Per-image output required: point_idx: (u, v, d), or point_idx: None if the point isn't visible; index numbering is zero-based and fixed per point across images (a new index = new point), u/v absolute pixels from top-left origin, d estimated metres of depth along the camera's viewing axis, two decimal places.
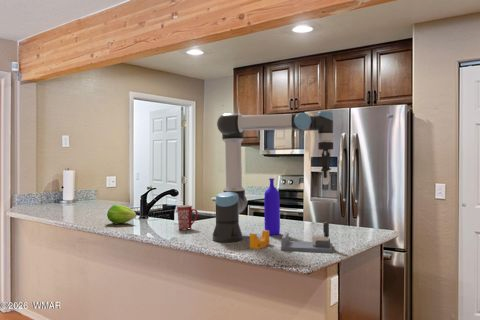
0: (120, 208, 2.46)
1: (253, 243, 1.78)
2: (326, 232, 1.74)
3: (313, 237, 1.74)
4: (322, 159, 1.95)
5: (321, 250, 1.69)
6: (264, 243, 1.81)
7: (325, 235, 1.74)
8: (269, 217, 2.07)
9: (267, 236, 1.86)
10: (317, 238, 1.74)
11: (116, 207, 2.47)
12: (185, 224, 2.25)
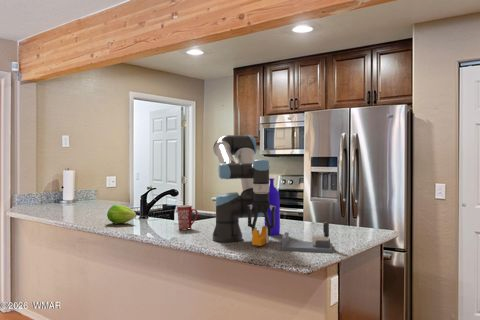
0: (120, 208, 2.46)
1: (256, 239, 1.78)
2: (326, 232, 1.74)
3: (313, 237, 1.74)
4: None
5: (321, 250, 1.69)
6: None
7: (325, 235, 1.74)
8: (269, 217, 2.07)
9: None
10: (317, 238, 1.74)
11: (116, 207, 2.47)
12: (185, 224, 2.25)
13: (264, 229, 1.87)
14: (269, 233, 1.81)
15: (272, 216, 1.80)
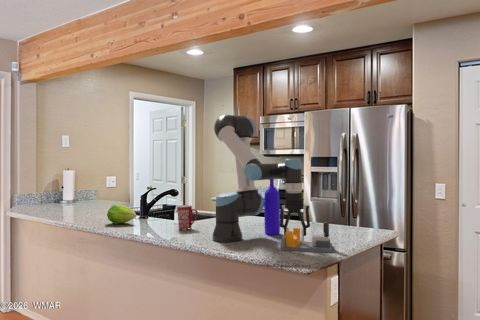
0: (120, 208, 2.46)
1: (290, 241, 1.74)
2: (326, 232, 1.74)
3: (313, 237, 1.74)
4: None
5: (321, 250, 1.69)
6: (298, 240, 1.77)
7: (325, 235, 1.74)
8: (269, 217, 2.07)
9: (298, 233, 1.83)
10: (317, 238, 1.74)
11: (116, 207, 2.47)
12: (185, 224, 2.25)
13: (296, 230, 1.83)
14: (305, 233, 1.77)
15: (307, 215, 1.76)
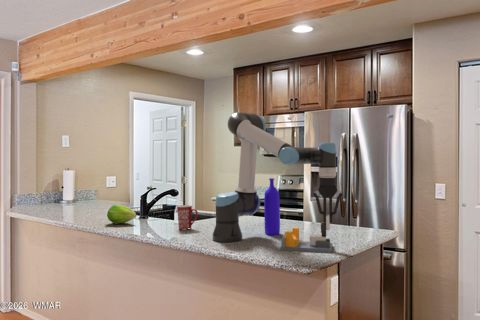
0: (120, 208, 2.46)
1: (289, 241, 1.74)
2: (323, 232, 1.74)
3: (310, 237, 1.75)
4: None
5: (321, 250, 1.69)
6: (298, 240, 1.78)
7: (322, 235, 1.74)
8: (269, 217, 2.07)
9: (298, 233, 1.83)
10: (314, 238, 1.74)
11: (116, 207, 2.47)
12: (185, 224, 2.25)
13: (295, 230, 1.83)
14: (331, 220, 1.74)
15: (337, 202, 1.73)
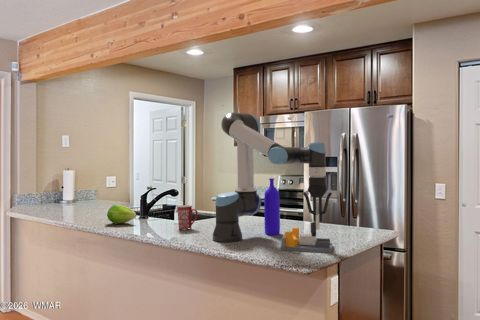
0: (120, 208, 2.46)
1: (289, 241, 1.74)
2: (313, 232, 1.75)
3: (300, 237, 1.76)
4: None
5: (321, 250, 1.69)
6: (298, 240, 1.78)
7: (312, 235, 1.75)
8: (269, 217, 2.07)
9: (298, 233, 1.83)
10: (304, 237, 1.75)
11: (116, 207, 2.47)
12: (185, 224, 2.25)
13: (295, 230, 1.83)
14: (320, 219, 1.75)
15: (326, 202, 1.74)
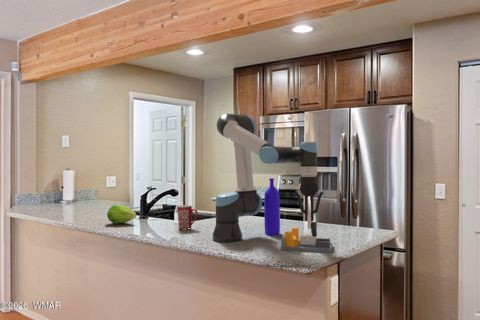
0: (120, 208, 2.46)
1: (289, 241, 1.74)
2: (314, 232, 1.75)
3: (301, 237, 1.76)
4: None
5: (321, 250, 1.69)
6: (298, 240, 1.78)
7: (313, 235, 1.75)
8: (269, 217, 2.07)
9: (297, 233, 1.83)
10: (305, 238, 1.75)
11: (116, 207, 2.47)
12: (185, 224, 2.25)
13: (294, 230, 1.83)
14: (312, 218, 1.76)
15: (318, 201, 1.74)
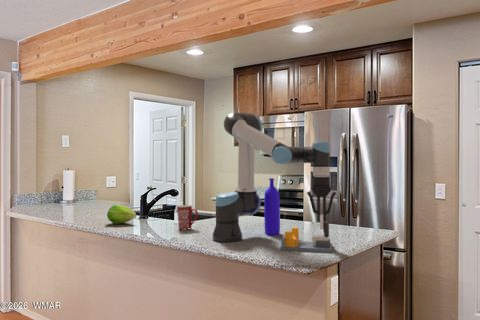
0: (120, 208, 2.46)
1: (289, 241, 1.74)
2: (326, 232, 1.74)
3: (313, 237, 1.74)
4: None
5: (321, 250, 1.69)
6: (298, 240, 1.78)
7: (325, 235, 1.74)
8: (269, 217, 2.07)
9: (297, 233, 1.83)
10: (317, 238, 1.74)
11: (116, 207, 2.47)
12: (185, 224, 2.25)
13: (294, 230, 1.83)
14: (324, 219, 1.75)
15: (331, 201, 1.73)
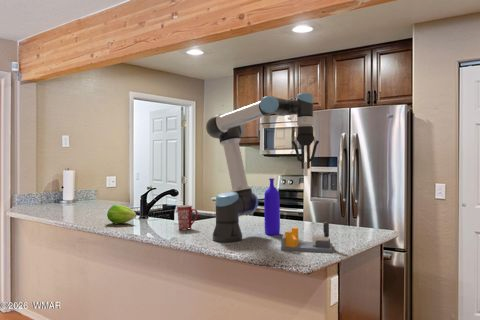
0: (120, 208, 2.46)
1: (289, 241, 1.74)
2: (326, 232, 1.74)
3: (313, 237, 1.74)
4: None
5: (321, 250, 1.69)
6: (298, 240, 1.78)
7: (325, 235, 1.74)
8: (269, 217, 2.07)
9: (297, 233, 1.83)
10: (317, 238, 1.74)
11: (116, 207, 2.47)
12: (185, 224, 2.25)
13: (294, 230, 1.83)
14: (308, 166, 1.85)
15: (314, 149, 1.83)
